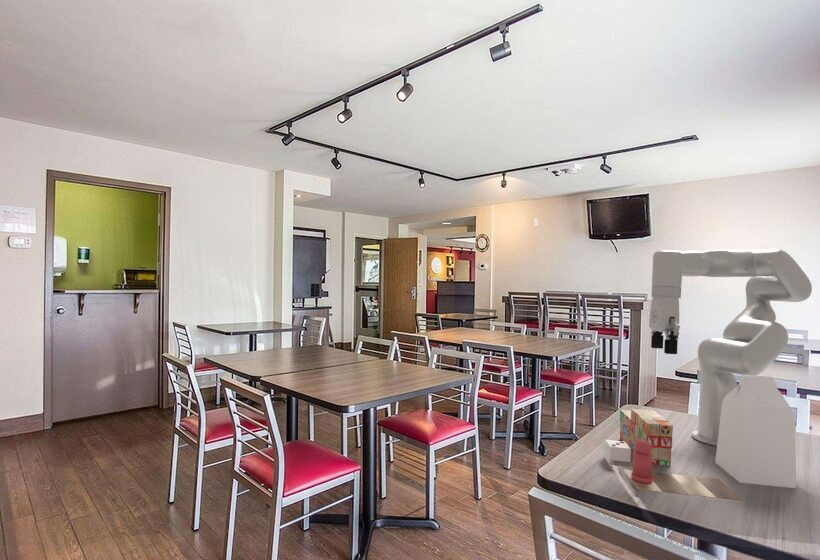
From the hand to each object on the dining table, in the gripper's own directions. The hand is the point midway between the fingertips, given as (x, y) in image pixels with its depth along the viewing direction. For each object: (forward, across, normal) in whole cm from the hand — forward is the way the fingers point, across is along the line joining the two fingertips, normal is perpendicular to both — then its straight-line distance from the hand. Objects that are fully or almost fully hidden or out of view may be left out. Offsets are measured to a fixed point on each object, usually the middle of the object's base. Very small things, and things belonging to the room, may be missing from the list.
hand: (663, 350), depth 130 cm
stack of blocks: (+29, +7, -7) cm, 30 cm away
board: (+28, +28, -6) cm, 40 cm away
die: (+28, +15, -16) cm, 36 cm away
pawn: (+27, +28, -14) cm, 41 cm away
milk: (+29, +18, +15) cm, 37 cm away
